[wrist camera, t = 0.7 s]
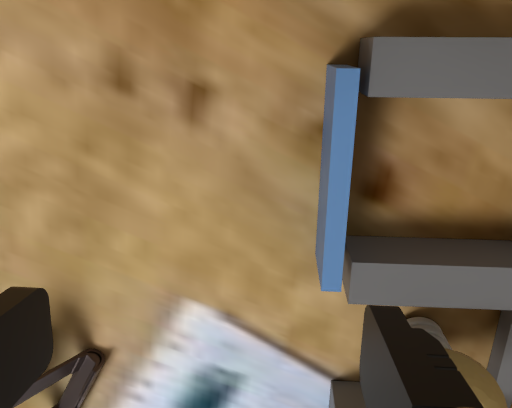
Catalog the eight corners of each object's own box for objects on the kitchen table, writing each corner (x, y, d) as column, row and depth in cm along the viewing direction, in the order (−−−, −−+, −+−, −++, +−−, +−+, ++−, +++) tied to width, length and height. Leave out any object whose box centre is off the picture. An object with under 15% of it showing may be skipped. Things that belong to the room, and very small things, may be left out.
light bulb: (474, 314, 31) (554, 427, 22) (431, 376, 34) (488, 503, 24) (395, 285, 31) (444, 388, 22) (358, 350, 33) (387, 469, 24)
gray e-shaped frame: (328, 38, 25) (338, 36, 21) (594, 39, 25) (668, 37, 20) (306, 407, 36) (309, 462, 31) (493, 417, 35) (526, 475, 30)
